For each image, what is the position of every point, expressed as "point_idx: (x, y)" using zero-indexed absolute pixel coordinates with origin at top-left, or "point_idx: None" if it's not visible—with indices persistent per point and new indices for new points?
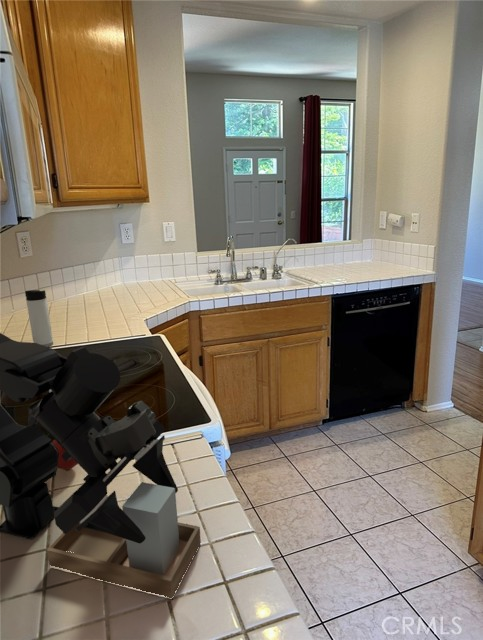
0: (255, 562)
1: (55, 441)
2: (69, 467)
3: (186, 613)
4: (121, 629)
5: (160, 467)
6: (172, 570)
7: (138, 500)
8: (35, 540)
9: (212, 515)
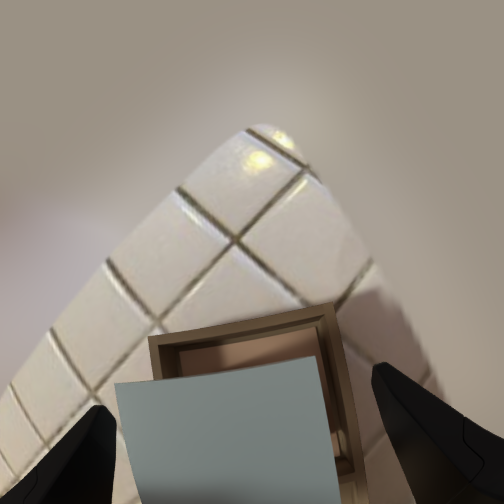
0: (170, 213)
1: None
2: None
3: (332, 268)
4: (416, 355)
5: (52, 494)
6: (305, 317)
7: (276, 501)
8: None
9: (90, 356)
